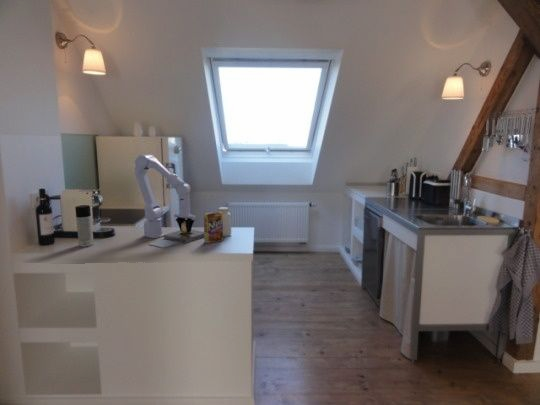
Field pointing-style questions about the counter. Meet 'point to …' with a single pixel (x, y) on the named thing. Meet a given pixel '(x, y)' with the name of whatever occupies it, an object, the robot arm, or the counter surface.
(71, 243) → the counter surface
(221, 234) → the candy box
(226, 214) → the pill bottle
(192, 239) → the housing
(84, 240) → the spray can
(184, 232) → the end plug
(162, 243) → the mat
